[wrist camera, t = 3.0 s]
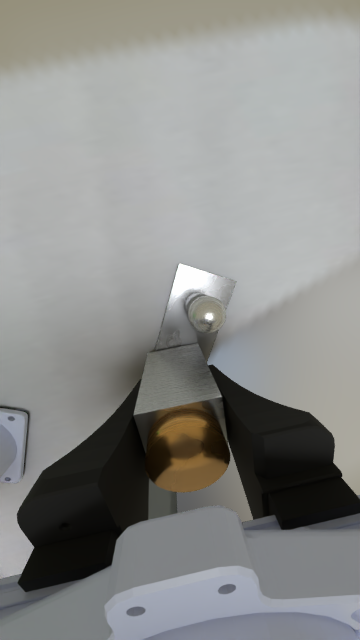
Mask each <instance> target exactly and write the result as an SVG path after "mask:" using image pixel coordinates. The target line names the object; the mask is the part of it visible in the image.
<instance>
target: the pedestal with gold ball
mask: <svg viewBox="0 0 360 640" xmlns="http://www.w3.org/2000/svg"><path fill="white" fill-rule="evenodd" d="M133 416H134V419H135V422H136V425H137V428H138V431H139V434H140V437H141V441H142V444H143V447H144V450H145V453H146V455H145V471H146V474H147V476H148V477H149V479H150V480H151V481H152V482H153V483H154V484H155V485H157V486H159V487H160V488H163V489H165V490H168V491H173V492H191V491H196V490H200V489H203V488H205V487H207V486H209V485H211V484H213V483H214V482H215V481H217V480H218V479H219V478H220V477H221V476H222V475H223V474H224V472H225V471H226V470H227V467H228V465H229V461H230V451H229V447H228V439H227V431H226V424H225V416H224V408H223V400H222V396H221V393H220V391H219V389H218V387H217V384H216V382H215V380H214V378H213V376H212V373H211V371H210V369H209V367H208V365H207V362H206V360H205V358H204V356H203V354H202V351H201V349H200V347H199V345H198V343H196V344H191V345H186V346H181V347H175V348H170V349H165V350H160V351H155V352H150V353H148V354H147V359H146V363H145V367H144V372H143V376H142V380H141V385H140V389H139V393H138V397H137V402H136V406H135V410H134V415H133Z"/></svg>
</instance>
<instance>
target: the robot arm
mask: <svg viewBox="0 0 360 640" xmlns="http://www.w3.org/2000/svg"><path fill="white" fill-rule="evenodd" d="M208 367H209V369H210V371H211V373H212V376H213V378H214V380H215V382H216V384H217V387H218V389H219V391H220V393H221V396H222V400H223V408H224V416H225V424H226V431H227V439H228V442H229V445H230V448H231V451H232V454H233V457H234V460H235V463H236V466H237V469H238V472H239V475H240V478H241V482H242V485H243V488H244V491H245V494H246V497H247V500H248V504H249V506H250V510H251V513H252V516H253V520H250V521H246V522H241V520H240V518H239V517H238V515H237V513H236V512H235V511H233V510H232V509H229V508H227V507H224V506H207V507H202V508H199V509H194V510H189V511H185V512H181V513H176V514H172V515H168V516H163V517H159V518H154V519H150V520H148V512H149V477H148V476H147V474H146V471H145V455H146V453H145V450H144V447H143V444H142V441H141V437H140V434H139V431H138V428H137V425H136V422H135V419H134V416H133V415H134V410H135V406H136V402H137V397H138V393H139V389H140V385H141V380H142V379H140V380H139V382H138V383H137V385H136V386H135V387H134V389H133V390H132V391H131V393H130V394H129V395H128V397H127V398H126V399H125V401H124V402H123V403H122V404H121V405H120V407H119V408H118V409H117V410H116V411H115V412H114V414H113V415H112V416H111V417H110V418H109V419H108V420H107V421H106V422H105V423H104V424H103V425H102V426H101V427H100V428H98V429H97V430H96V431H95V432H94V433H93V434H92V435H91V436H90V437H88V438H87V439H86V440H85V441H84V442H82V443H81V444H80V445H79V446H77V447H76V448H75V449H73V450H72V451H71V452H69V453H68V454H67V455H65V456H64V457H62V458H61V459H59V460H58V461H57V462H55V463H54V464H52V465H51V466H49V467H48V468H46V469H45V470H43V472H42V473H41V475H40V476H39V478H38V479H37V481H36V483H35V484H34V486H33V487H32V489H31V491H30V492H29V494H28V495H27V497H26V499H25V500H24V502H23V503H22V505H21V507H20V508H19V511H18V513H17V521H18V524H19V526H20V528H21V530H22V531H23V532H24V534H25V535H26V536H27V538H28V539H29V541H30V542H31V543H32V545H33V546H34V549H33V551H32V553H31V556H30V558H29V560H28V562H27V564H26V566H25V568H24V570H23V572H22V574H19V575H15V576H10V577H6V578H2V579H0V640H360V495H356V494H355V493H354V492H353V491H352V489H351V488H350V487H349V486H348V485H347V484H346V482H345V481H344V480H343V479H342V478H341V477H342V473H341V471H340V470H339V469H338V468H337V466H336V465H335V464H334V463H333V458H334V448H335V444H334V438H333V435H332V433H330V432H329V431H328V430H327V429H326V428H325V427H324V426H323V425H322V424H321V423H320V422H319V421H318V420H317V419H316V418H315V417H314V416H312V415H311V414H310V413H309V412H305V411H302V410H298V409H294V408H291V407H287V406H284V405H281V404H278V403H275V402H273V401H270V400H268V399H265V398H263V397H261V396H259V395H256V394H254V393H252V392H250V391H248V390H247V389H245V388H243V387H241V386H240V385H238V384H237V383H235V382H234V381H232V380H231V379H230V378H228V377H227V376H226V375H224V374H223V373H222V372H221V371H219V370H218V369H217V368H216V367H215V366H214V365H208ZM27 423H28V415H27V413H25V412H23V411H17V410H10V409H4V408H0V482H5V483H18V482H19V481H20V480H21V479H22V477H23V469H24V458H25V446H26V435H27Z"/></svg>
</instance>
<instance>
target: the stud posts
mask: <svg viewBox="0 0 360 640" xmlns="http://www.w3.org/2000/svg"><path fill="white" fill-rule="evenodd" d="M236 282H237V281H233V280H230V279H227V278H224V277H221V276H218V275H214V274H211V273H208V272H205V271H202V270H199V269H195V268H192V267H189V266H186V265H183V264H180V263H179V265H178V269H177V272H176V276H175V280H174V283H173V287H172V290H171V294H170V298H169V301H168V305H167V308H166V312H165V316H164V319H163V323H162V326H161V330H160V334H159V337H158V341H157V344H156V348H155V351H160V350H165V349H170V348H175V347H181V346H186V345H191V344H196V343H198V345H199V347H200V349H201V351H202V354H203V356H204V358H205V360H206V362H207V361H208V358H209V355H210V352H211V350H212V347H213V344H214V342H215V339H216V336H217V333H218V331H219V329H220V328H221V326H222V325H223V324H224V322H225V318H226V309H227V306H228V303H229V301H230V298H231V295H232V293H233V290H234V287H235V284H236Z"/></svg>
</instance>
